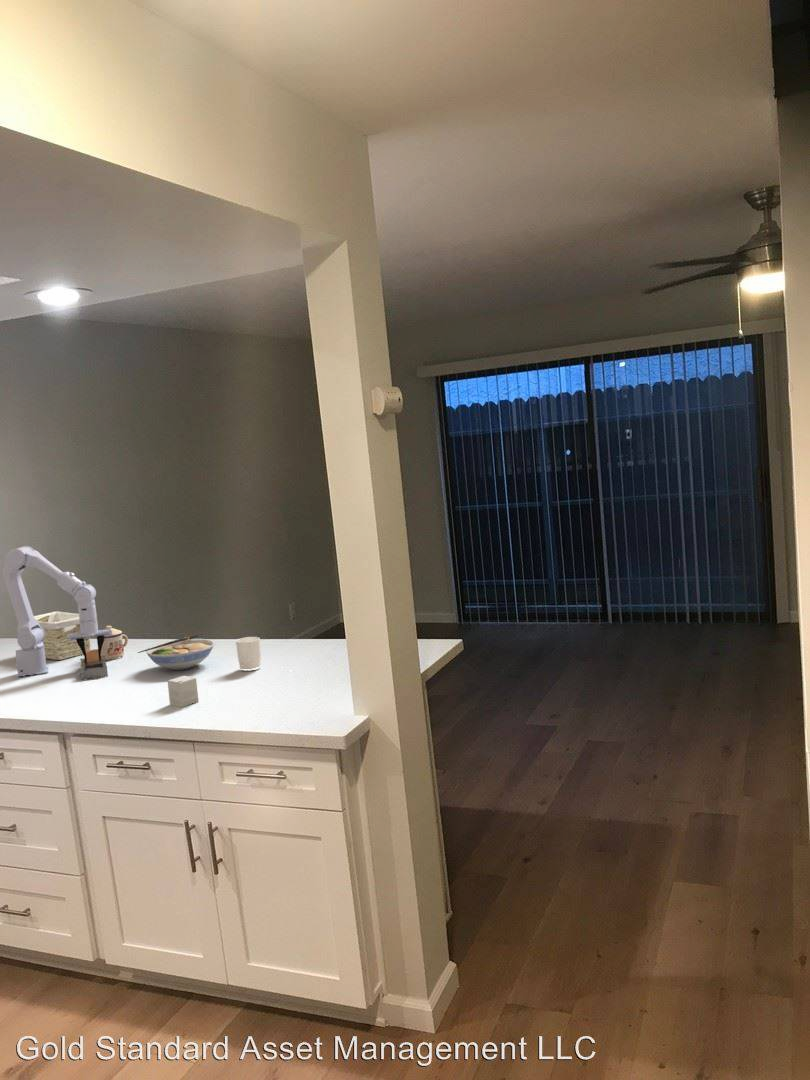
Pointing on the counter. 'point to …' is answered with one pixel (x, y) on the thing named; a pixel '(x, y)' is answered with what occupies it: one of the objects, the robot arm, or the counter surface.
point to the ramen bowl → (180, 652)
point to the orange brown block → (92, 655)
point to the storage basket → (61, 635)
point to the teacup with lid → (113, 644)
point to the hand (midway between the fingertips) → (92, 658)
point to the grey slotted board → (94, 668)
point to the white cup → (248, 652)
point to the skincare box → (182, 691)
